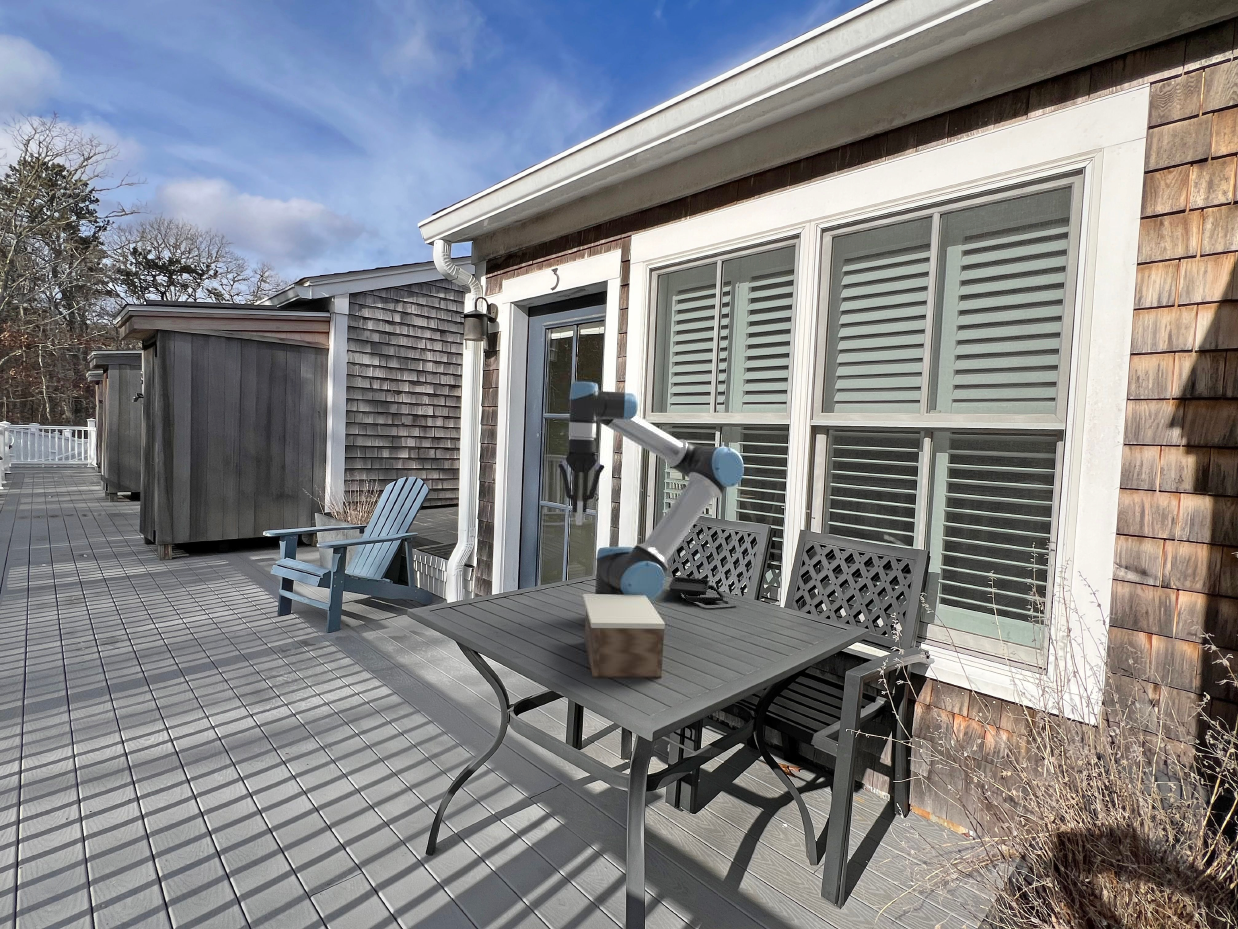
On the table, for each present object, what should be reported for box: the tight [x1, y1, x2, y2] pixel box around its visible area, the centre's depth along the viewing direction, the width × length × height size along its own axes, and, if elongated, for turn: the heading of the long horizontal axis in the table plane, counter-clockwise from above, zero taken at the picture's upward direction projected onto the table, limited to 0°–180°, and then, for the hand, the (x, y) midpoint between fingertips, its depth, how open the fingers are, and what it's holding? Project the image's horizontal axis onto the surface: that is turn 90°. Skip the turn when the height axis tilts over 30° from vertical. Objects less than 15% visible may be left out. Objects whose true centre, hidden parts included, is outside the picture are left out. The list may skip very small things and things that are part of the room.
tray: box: [668, 576, 726, 605], centre depth 234 cm, size 30×23×5 cm
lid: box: [582, 593, 666, 630], centre depth 166 cm, size 17×28×1 cm, turn 7°
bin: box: [584, 610, 665, 679], centre depth 167 cm, size 16×26×12 cm, turn 7°
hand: (578, 524), depth 179 cm, fingers closed
